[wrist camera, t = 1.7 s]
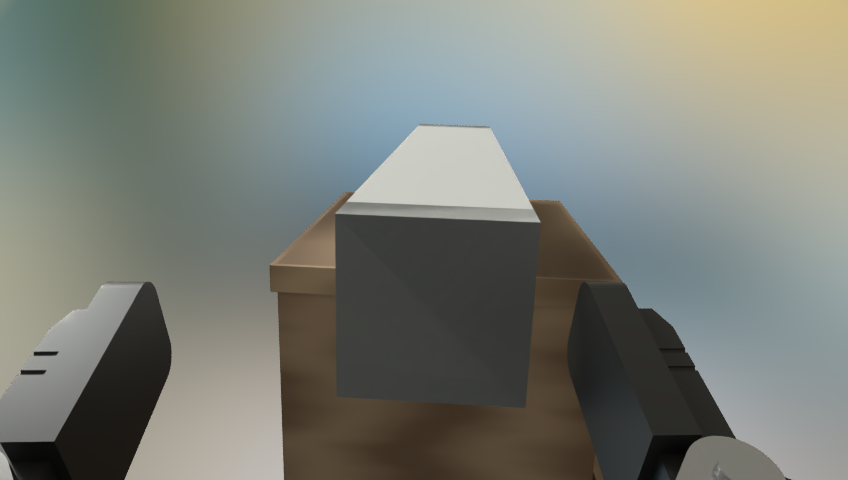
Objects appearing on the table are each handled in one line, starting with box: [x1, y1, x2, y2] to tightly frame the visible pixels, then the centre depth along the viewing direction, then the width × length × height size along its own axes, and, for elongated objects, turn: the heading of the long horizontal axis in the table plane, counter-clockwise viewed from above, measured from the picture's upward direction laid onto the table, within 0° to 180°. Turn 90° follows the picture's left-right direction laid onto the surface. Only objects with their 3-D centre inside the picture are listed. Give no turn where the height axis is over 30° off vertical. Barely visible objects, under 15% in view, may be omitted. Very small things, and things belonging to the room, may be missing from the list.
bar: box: [335, 124, 541, 408], centre depth 24 cm, size 4×24×4 cm, turn 176°
